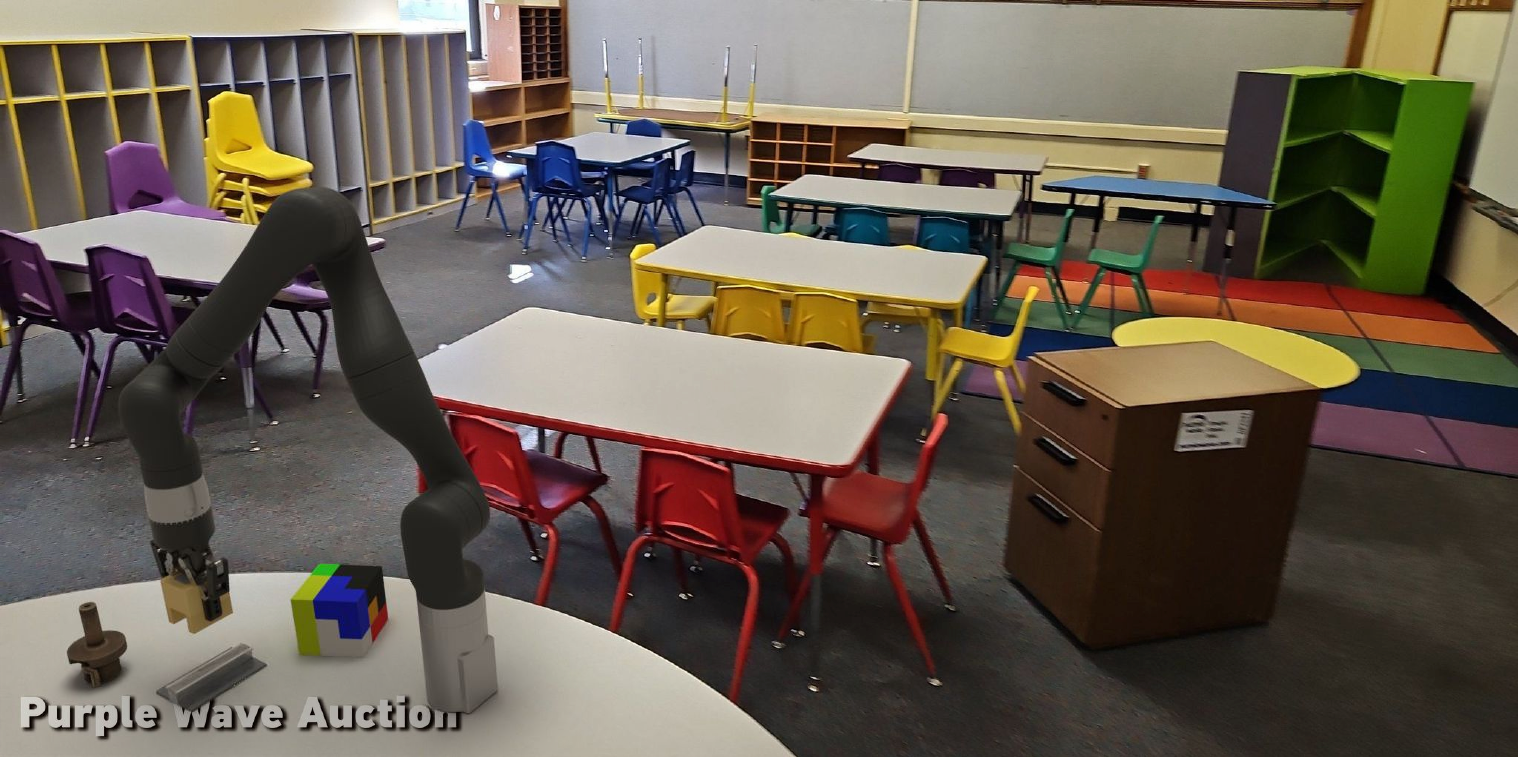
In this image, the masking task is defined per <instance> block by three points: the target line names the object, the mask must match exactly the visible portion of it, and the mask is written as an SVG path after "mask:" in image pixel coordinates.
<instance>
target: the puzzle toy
mask: <svg viewBox="0 0 1518 757" xmlns="http://www.w3.org/2000/svg"><path fill="white" fill-rule="evenodd" d="M290 606H291V612H292V618H293V625H294V630H295V637H296V642H297V647H298V654H299V655H300V656H301V655H304V656H325V657H326V656H327V657H348V658H349V657H352V658H353V657H355V658H365V657H366V655H367V653H368V652H369V650H370V649H371V647H372V646H373V644H374V643H375V641H376V640H377V638H378V637H379V634H380V632H382V630H383V628H384V626H385V625H386V623H387V622H388V620H389V614H388V613H389V612H388V604H387V596H386V589H385V581H384V573H383V566H381V565H380V566H379V565H365V564H364V565H362V564H361V565H359V564H358V565H357V564H336V563H335V564H334V563H333V564H332V563H319V564H318V565H317V566H316V567H315V568H314V570H313V571H312V572H311V574H309V575H308V577H307V578H306V579H305V581H304V582H303V583H302V584H301V586H300V587H299V588H298V589H297V591H296V592H295V593H294V594H293V595H292V596H291V598H290Z"/></svg>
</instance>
